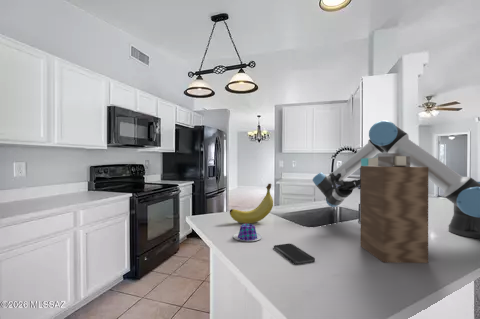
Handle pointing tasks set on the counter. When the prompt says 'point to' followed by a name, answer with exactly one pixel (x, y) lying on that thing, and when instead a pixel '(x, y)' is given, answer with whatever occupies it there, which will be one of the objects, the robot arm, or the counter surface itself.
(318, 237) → the counter surface
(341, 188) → the robot arm
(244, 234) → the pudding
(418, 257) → the stand
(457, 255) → the counter surface
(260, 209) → the banana
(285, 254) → the phone
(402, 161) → the cream teal square bar
